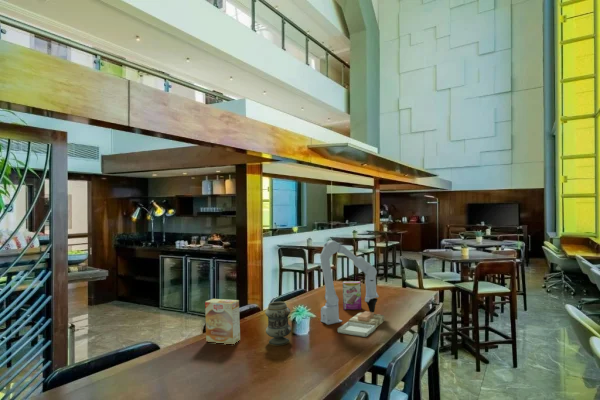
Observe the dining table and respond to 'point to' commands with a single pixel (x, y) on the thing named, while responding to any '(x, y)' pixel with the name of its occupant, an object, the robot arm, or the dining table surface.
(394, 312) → the dining table surface
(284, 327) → the carved stone vase
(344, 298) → the candy bar box
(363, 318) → the front tile
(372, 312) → the back tile
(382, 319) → the plate
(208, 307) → the coffeecake box
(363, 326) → the box
